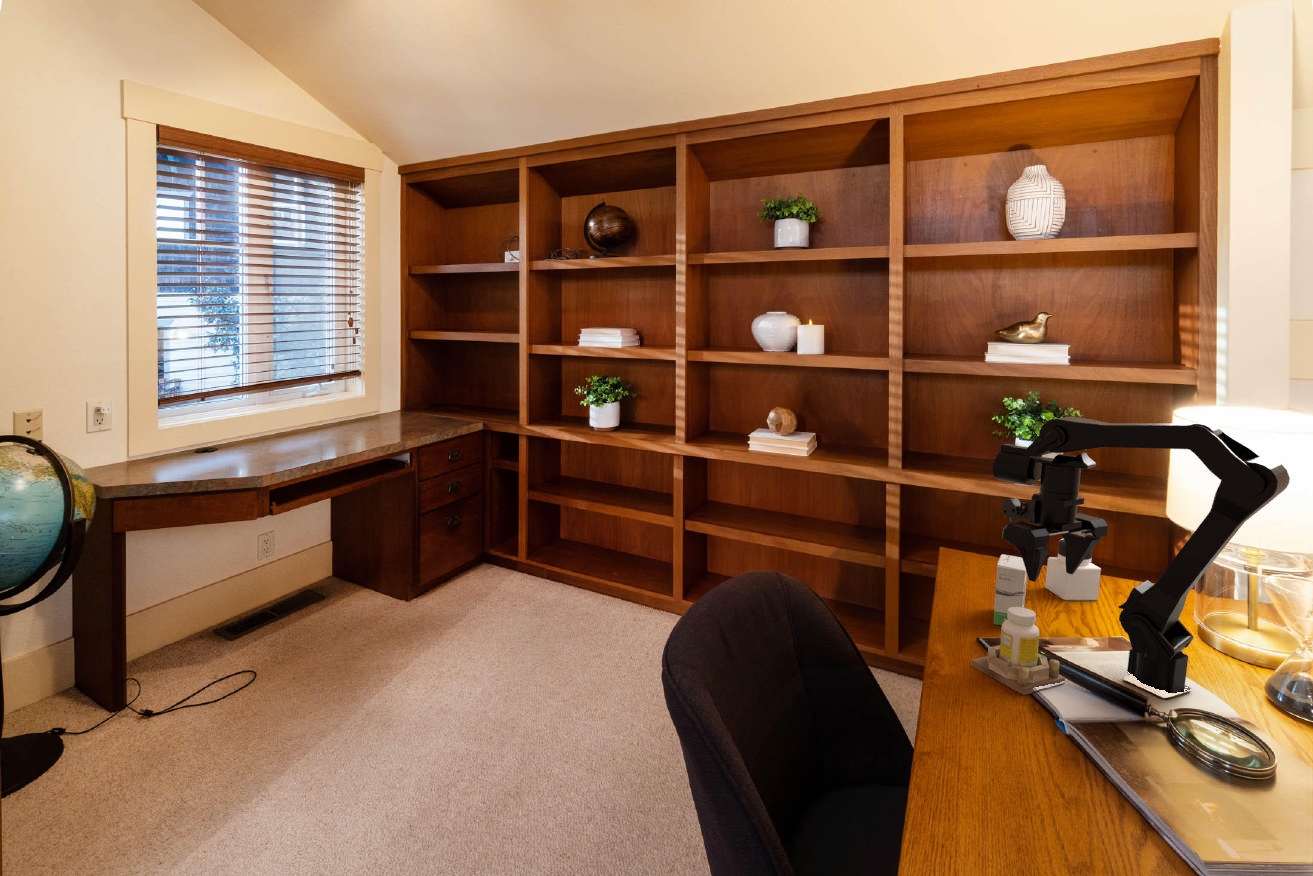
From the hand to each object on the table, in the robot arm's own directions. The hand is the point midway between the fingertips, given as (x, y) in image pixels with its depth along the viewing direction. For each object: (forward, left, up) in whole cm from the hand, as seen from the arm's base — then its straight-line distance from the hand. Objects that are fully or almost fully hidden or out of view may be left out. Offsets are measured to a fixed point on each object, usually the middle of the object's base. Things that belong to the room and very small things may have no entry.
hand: (1051, 577), depth 115 cm
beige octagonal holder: (-5, +13, -13) cm, 19 cm away
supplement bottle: (-5, +13, -12) cm, 18 cm away
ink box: (+11, -4, -13) cm, 18 cm away
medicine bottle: (+15, -27, -13) cm, 34 cm away
